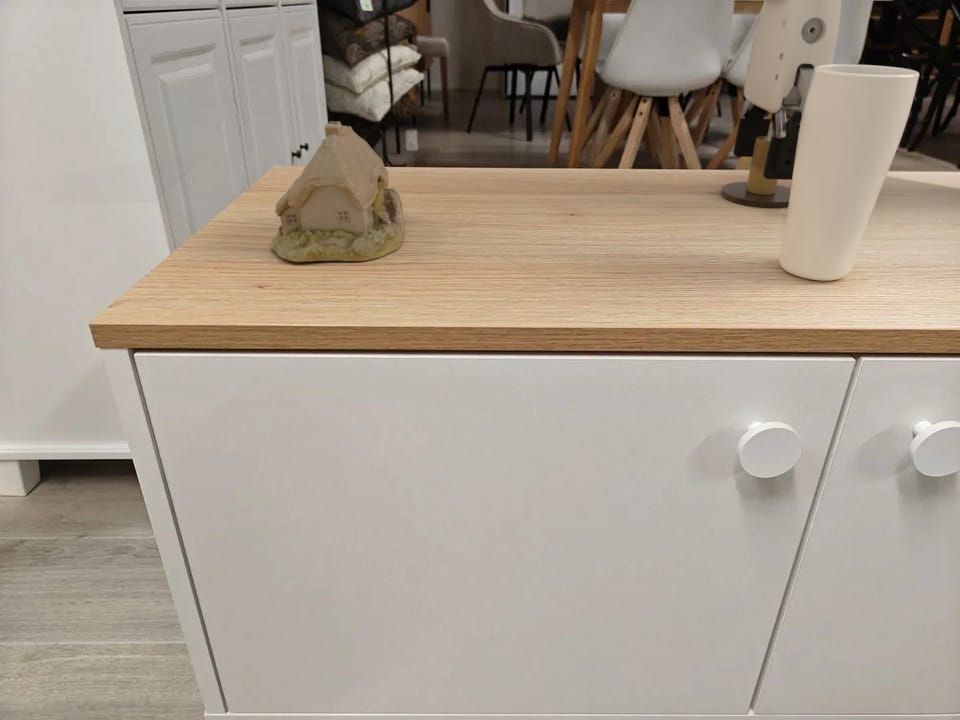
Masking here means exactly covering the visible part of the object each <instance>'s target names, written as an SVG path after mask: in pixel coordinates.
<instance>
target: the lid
mask: <svg viewBox="0 0 960 720" xmlns="http://www.w3.org/2000/svg"><path fill="white" fill-rule="evenodd" d="M772 136H773V135H768V136H760V137H757V138H756V141H755V146H754V151H753V156H752V157H751V162H750V168H749V172H748V177H747V181H737V182H730V183H726V184H724V185H722V186H721V188H720V189H721V190H720V196H721V197H722V198H723V199H725V200H727V201H729V202H732V203H734V204H735V203H736V204H739V205H743V206H749V207H755V208H766V209H767V208H769V209H771V208H772V209H774V208H775V209H776V208H777V209H780V208H788V204H789V197H790V190H791V187H787V186H784V185H781V184H779V179H766V178H765V177H764V176H763V172H764V168H765V163H766V159H767V155H768V150H769V146H770V141H771V137H772Z"/></svg>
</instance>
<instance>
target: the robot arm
mask: <svg viewBox="0 0 960 720" xmlns="http://www.w3.org/2000/svg"><path fill="white" fill-rule="evenodd" d="M841 12H842V0H764V1H763V4H762V7H761V11H760V14H759V18H758V22H757V25H756V30H755V33H754V37H753V41H752V46H751V50H750V54H749V60H748V64H747V68H746V75H745V80H744V88H743V95H742V99H743V104H742V106H741V109H740V112H739V116H740V118H739V121H738V126H737V132H736V137H735V142H734V146H733V151H732V153H733V155H734V156H735V157H737V158H739V157H740V158H741V157H742V158H752V156H753V151H754V146H755V141H756V138H757V137H760V136H769V131H770V126H771V122H772V119H771V118H768V117H770V116H769V115H770V114H774V119H775V136H773V135H771V136H772V137H771V141H770V146H769V150H768V155H767V159H766V163H765V168H764V172H763V176H764V177H765V178H766V179H778V180H780V181H781V180H784V181H786V180H787V181H789V180H790V181H792V176H793V169H794V162H795V154H796V147H797V141H798V134H799V128H800V123H801V118H802V113H803V108H804V104H805V100H806V96H807V92H808V89H809V85H810V82H811V78H812V75H813V71H814V68H815V67H817V66H821V65H834V59H835V56H836V55H835V54H836V49H837V43H838V39H839V38H838V37H839V30H840V22H841V15H842V13H841ZM787 117H790V118H789V119H788V120H787Z"/></svg>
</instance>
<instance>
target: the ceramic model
mask: <svg viewBox="0 0 960 720" xmlns="http://www.w3.org/2000/svg"><path fill="white" fill-rule="evenodd" d="M324 132H325V133H324V134H325V138H324V139H322V140H321V144H320V145H319V147H318V148H317V149H316V151H315V152H314V154H313V156H312V157H311V159H310V161H309V162H308V163H307V165H306V166H305V168H303V170H302V172H301V174H300V175H299V176H298V178H296V179H295V180H294V182H293V184H292V186H290V187H289V188H288V190H287V191H286V192H285V193H284V194H283V195H282V196H281V198H279V199H278V201H277V202H276V203H275V209H274V212H275V214H276V216H277V217H279V218H280V223H281V224H280V226H278V227H277V228H278V231H277V233H276V234H275V236H274V237H273V239H272V240H271V242H270V248H271V249H272V250H273V251H274V252H275V253H276V254H277V256H279V257H280V258H282V259H284V260H286V261H291V262H295V263H305V262H320V261H321V262H324V261H325V262H329V261H331V262H332V261H338V262H339V261H341V262H359V261H360V262H364V261H365V262H366V261H371V260H375V259H378V258H382V257H385V256H386V255H388V254H392V253H393V252H395V251H397V250H398V249H400V248H401V246H402V241H403V237H404V232H405V215H404V212H403V209H404V208H403V203H402V198H401V195H400V193H398V191H397V189H395V188H394V187H391V188H388V187H389V184H390V183H389V171H388V169H387V168H386V166H385V164H384V161H383V160H382V158H380V157H379V156H378V154H377V153H376V152H375V151H374V149H373V148H372V147H371V146H370V144H369V143H368V142H367V141H366V140H365V139H364V138H362V137H361V136H359V135H358V134H357V133H356V132H355V131H354V129H353V128H352V126H350V125H342V123H341V121H338V120H337V121H336V120H335V121H333V120H330V121H329V122H328V123H327V124H326V125H325V126H324Z"/></svg>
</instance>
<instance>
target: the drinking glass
mask: <svg viewBox="0 0 960 720" xmlns="http://www.w3.org/2000/svg"><path fill="white" fill-rule="evenodd" d="M919 78H920V72H919V71H917V70H914V69H910V68H904V67H896V66H886V65H874V64H873V65H872V64H851V63H849V64H845V63H844V64H843V63H842V64H840V63H839V64H836V63H835V64H834V63H833V65H821V66H817V67H815V68H814V71H813V75H812V78H811V82H810V85H809V89H808V92H807V96H806V100H805V104H804V108H803V113H802V118H801V123H800V128H799V134H798V141H797V147H796V154H795V162H794V169H793V176H792V180H791V184H790V188H791V190H790V197H789V204H788V207H787V211H786V212H787V213H786V219H785V224H784V225H785V226H784V232H783V237H782V242H781V247H780V251H779V254H778V255H779V256H778V263H779V265H780V267H781V268H782V269H783V270H784V271H785V272H786V273H788V274H790V275H793V276H796V277H799V278H802V279H807V280H812V281H825V282H826V281H827V282H828V281H836V280H840V279H843V278H845V277H846V276H847V275H849V273H850V272H851V270H852V268H853V265H854V261H855V259H856V255H857V252H858V248H859V245H860V243H861V241H862V238H863V236H864V232H865V230H866V228H867V225H868V222H869V220H870V218H871V215H872V212H873V210H874V208H875V205H876V203H877V200H878V198H879V195H880V193H881V190H882V187H883V185H884V183H885V180H886V177H887V175H888V173H889V170H890V168H891V165H892V163H893V160H894V159H895V155H896V153H897V150H898V148H899V145H900V142H901V140H902V138H903V134H904V131H905V128H906V125H907V122H908V120H909V116H910V112H911V110H912V105H913V103H914V98H915V94H916V91H917V86H918V82H919Z"/></svg>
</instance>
